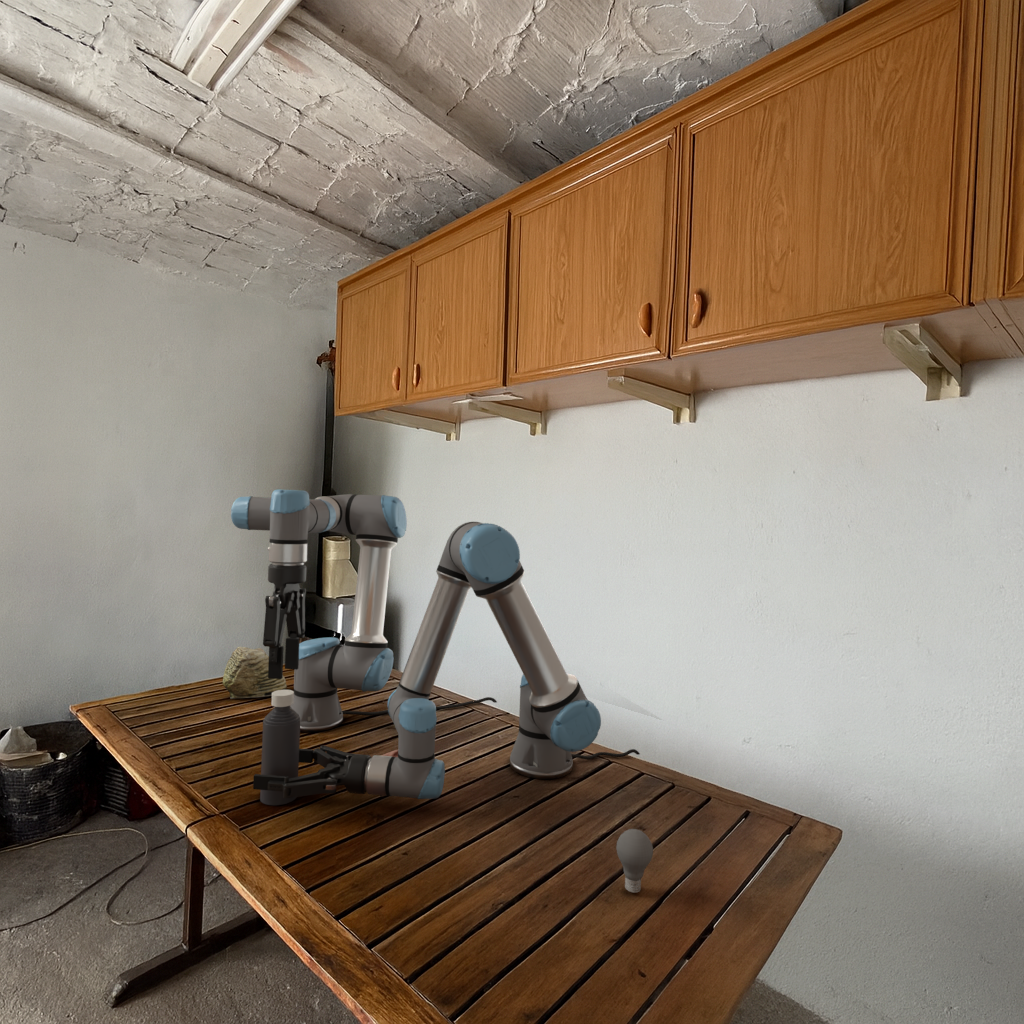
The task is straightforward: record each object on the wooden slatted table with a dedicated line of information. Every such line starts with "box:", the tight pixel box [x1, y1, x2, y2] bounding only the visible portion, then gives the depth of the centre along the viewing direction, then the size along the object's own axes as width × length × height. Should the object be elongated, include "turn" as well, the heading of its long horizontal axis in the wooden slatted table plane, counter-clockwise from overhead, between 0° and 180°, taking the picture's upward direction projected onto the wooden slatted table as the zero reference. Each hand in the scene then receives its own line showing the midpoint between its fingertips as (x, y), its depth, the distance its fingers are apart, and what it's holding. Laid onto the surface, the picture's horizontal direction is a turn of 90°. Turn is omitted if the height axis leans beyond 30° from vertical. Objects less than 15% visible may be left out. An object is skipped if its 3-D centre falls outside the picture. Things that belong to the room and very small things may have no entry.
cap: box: [270, 689, 294, 707], centre depth 132 cm, size 4×4×2 cm
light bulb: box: [615, 828, 654, 894], centre depth 106 cm, size 6×6×10 cm
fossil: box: [222, 646, 288, 699], centre depth 198 cm, size 9×18×15 cm, turn 132°
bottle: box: [259, 706, 301, 806], centre depth 133 cm, size 7×7×22 cm
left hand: (283, 673), depth 132 cm, fingers open, 7 cm apart
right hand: (269, 767), depth 133 cm, fingers open, 13 cm apart
